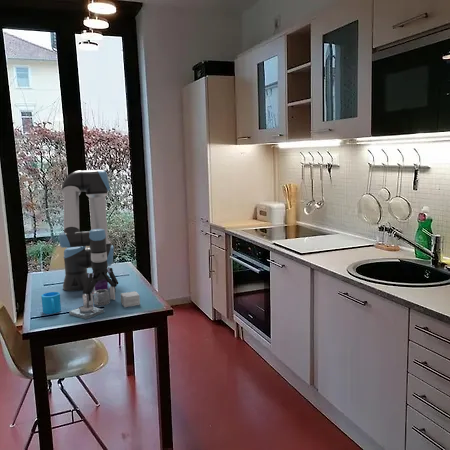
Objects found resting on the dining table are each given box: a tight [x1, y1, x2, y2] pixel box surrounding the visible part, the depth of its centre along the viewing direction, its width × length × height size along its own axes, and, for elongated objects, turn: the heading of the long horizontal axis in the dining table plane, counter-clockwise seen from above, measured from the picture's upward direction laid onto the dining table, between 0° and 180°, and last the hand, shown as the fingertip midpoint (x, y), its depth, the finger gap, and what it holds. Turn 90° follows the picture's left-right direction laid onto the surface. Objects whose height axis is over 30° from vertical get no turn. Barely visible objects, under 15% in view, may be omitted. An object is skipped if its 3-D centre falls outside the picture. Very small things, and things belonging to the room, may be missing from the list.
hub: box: [93, 289, 111, 306], centre depth 223 cm, size 7×7×6 cm
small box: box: [120, 290, 141, 308], centre depth 221 cm, size 8×8×5 cm
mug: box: [40, 291, 62, 315], centre depth 212 cm, size 12×8×8 cm
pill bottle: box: [91, 277, 109, 296], centre depth 237 cm, size 8×8×14 cm
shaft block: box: [68, 293, 105, 320], centre depth 208 cm, size 12×10×9 cm
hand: (102, 302), depth 223 cm, fingers open, 13 cm apart
